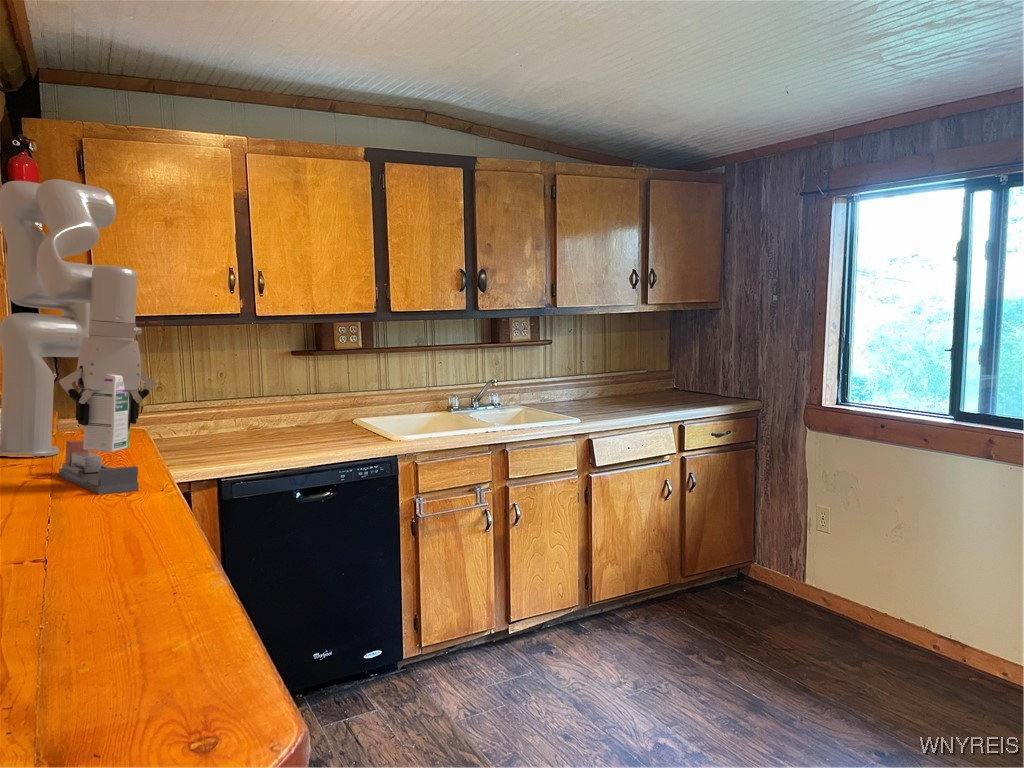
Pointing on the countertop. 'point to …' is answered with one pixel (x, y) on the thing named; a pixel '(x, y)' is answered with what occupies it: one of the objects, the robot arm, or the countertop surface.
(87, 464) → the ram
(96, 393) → the syrup box
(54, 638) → the countertop surface
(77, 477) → the press bed
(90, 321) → the robot arm
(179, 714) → the countertop surface
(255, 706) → the countertop surface
